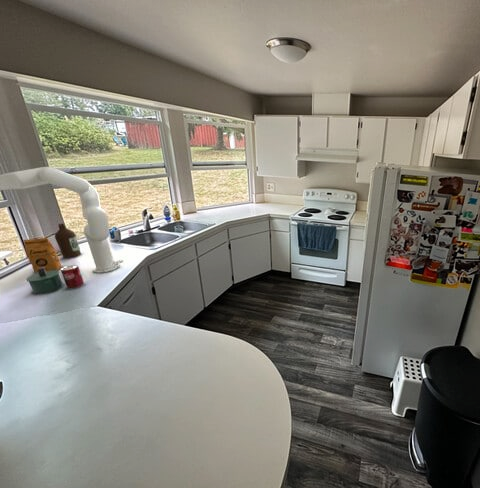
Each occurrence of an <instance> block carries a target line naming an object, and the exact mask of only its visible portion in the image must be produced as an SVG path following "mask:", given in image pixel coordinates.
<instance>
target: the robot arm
mask: <svg viewBox="0 0 480 488" xmlns="http://www.w3.org/2000/svg"><path fill="white" fill-rule="evenodd" d="M49 184H51V185H53V186H56V187H59V188H62V189H65V190H68V191H72V192H74V193H77V194H78V196H79V199H80V203H81V210H82V211H81V212H82V213H81V214H82V217H83V218H84V219H85V220H86V221H87V224H86V225H84V227H83V235H84V236H85V239H86V242H87V243H88V246H89V250H90V253H91V256H92V259H93V263H94V265H95V268H94V269H93V272H94V273H97V274H101V273H108V272H112V271H114V270H117V269H118V268H119V264H122V263H124V260H123V259H116V260H115V259H114V257H113V253H112V251H111V247H110V243H109V240H108V238H109V237H110V223H109V217H108V214H107V212H106V211H105V210H104V209H102V207H101V206H102V205H101V201H100V196H99V193H98V191H97V189H96V188H95V187H94V186H93V185H92V184H91V183H90V182H88V181H87V180H86V179H84V178H83V177H78V176H76V175H73V174H71V173H68V172H65V171H63V170H60V169H58V168H55V167H52V166H42V167H41V166H40V167H35V168H30V169H23V170H18V171H12V172H6V173H2V174H0V192H1V191H5V190H7V191H8V190H24V189H29V188H33V187H38V186H43V185H49Z"/></svg>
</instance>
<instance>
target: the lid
mask: <svg viewBox="0 0 480 488" xmlns="http://www.w3.org/2000/svg"><path fill="white" fill-rule="evenodd" d="M37 271H38V272H37V273H34V274H31V275H29V276H28V277H26V281H27V282H28V283H29V282H35V281H42V280H46V279H49V278H52V277H55V276H57V275H58V274H59V275H60V271H59V270H52V271H45V269H44V267H40V268H37Z"/></svg>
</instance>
